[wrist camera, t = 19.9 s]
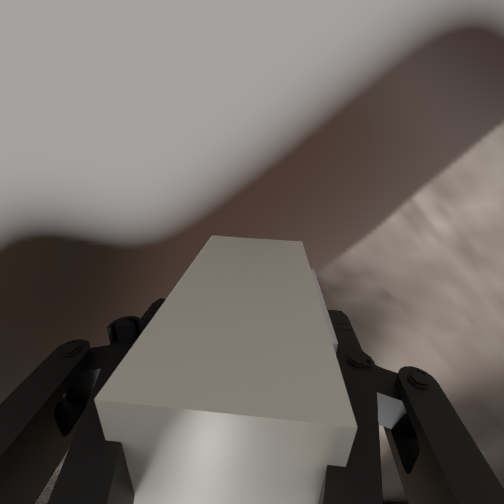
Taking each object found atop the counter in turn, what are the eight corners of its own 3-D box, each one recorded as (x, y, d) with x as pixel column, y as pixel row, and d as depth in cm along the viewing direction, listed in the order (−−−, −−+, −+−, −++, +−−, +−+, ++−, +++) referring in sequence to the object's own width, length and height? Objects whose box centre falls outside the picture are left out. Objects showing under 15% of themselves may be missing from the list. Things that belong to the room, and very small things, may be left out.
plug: (277, 444, 25) (279, 687, 14) (216, 437, 25) (169, 668, 14) (302, 241, 17) (357, 427, 6) (211, 235, 17) (94, 398, 6)
